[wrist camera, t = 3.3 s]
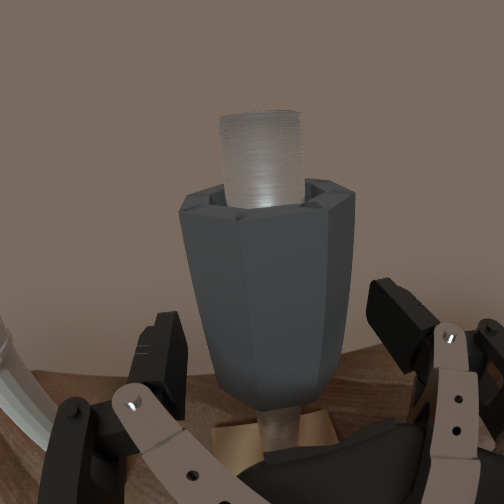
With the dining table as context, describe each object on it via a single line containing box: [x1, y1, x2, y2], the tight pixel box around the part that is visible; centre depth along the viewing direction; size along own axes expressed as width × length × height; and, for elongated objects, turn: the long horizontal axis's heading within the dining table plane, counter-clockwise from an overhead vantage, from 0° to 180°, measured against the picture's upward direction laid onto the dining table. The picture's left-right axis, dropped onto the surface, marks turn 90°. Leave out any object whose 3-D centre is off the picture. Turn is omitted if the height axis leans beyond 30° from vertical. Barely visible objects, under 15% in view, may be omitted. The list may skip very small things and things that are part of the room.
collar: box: [179, 178, 355, 412], centre depth 12 cm, size 6×6×9 cm
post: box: [211, 110, 339, 476], centre depth 16 cm, size 14×14×32 cm
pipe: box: [0, 317, 58, 451], centre depth 14 cm, size 6×6×30 cm
